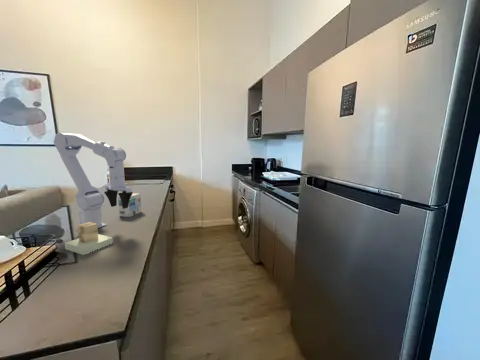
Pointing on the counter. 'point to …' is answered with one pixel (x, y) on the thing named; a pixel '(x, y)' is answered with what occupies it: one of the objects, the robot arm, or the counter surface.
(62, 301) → the counter surface
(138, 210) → the light bulb box
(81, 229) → the birch block
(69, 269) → the counter surface
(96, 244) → the sage box
